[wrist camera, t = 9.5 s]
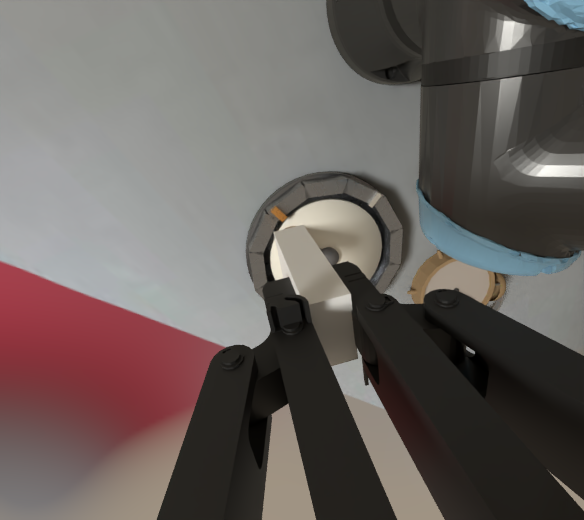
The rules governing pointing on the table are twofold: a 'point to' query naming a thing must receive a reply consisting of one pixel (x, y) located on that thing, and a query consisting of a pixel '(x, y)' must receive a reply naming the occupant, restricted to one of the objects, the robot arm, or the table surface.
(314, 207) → the dial
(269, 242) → the housing
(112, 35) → the table surface
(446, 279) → the alarm clock
